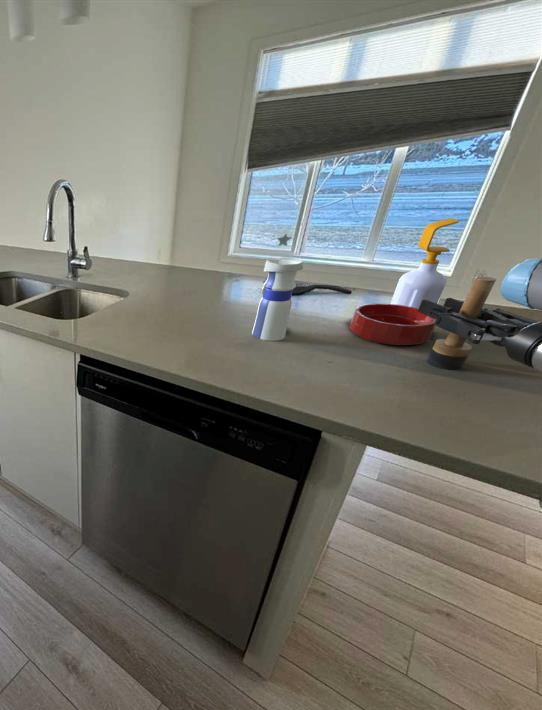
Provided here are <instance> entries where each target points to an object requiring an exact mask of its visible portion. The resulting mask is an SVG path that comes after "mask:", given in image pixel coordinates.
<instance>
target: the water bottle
mask: <svg viewBox="0 0 542 710" xmlns="http://www.w3.org/2000/svg"><path fill="white" fill-rule="evenodd" d="M292 238H293V237H292V236H288V235H287V232H285V233H284V234H283V236H281V237H276V240H278V242H279V243H278V244H277V247H280V246H285V247H288V241H289V240H291V239H292ZM303 269H304V264H303V260H302V259H299V258H295V257H291V256H289V257H288V256H282V257H279V259H278V263H274V262H271V261H270V260H269V259H266V261H265V264H264V268H263V273H266V272H268V275H267V277H266V278H267V280H266V279H265V281H266V282H265V283H264V284H263V283H262V284H263V286H262V288H261V294H262V297H261V298H260V300H259V303H258V307H257V312H256V315H255V321H254V324H253V328H252V331H251V335H252V336H253V337H254V338H257V339H259V340H262V341H271V342H276V341H277V342H278V341H281V340H284V339H285V338H286V335H287V327H288V323H289V319H290V318H289V317H290V313H291V309H292V292H293V289H294V288H295V287H296V281H295V279H296V275H297V273H298V272H299V271H301V270H303Z"/></svg>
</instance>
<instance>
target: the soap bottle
mask: <svg viewBox="0 0 542 710" xmlns="http://www.w3.org/2000/svg"><path fill="white" fill-rule="evenodd" d="M459 222H460V220H458V219H456V218H451V217H449V218H445V219H442V220H437V221H434V222H431V223H429V224H427V225H426V226H425V227H424V229H423V232H422V234H421V236H420V239H419V242H418V245H417V246H418V248H419V249H421V250H423V251H425V254H426V255H427V257H426V258H423V259H421V261H420V264H419V267H417V268H416V269H413V270H410V271H408V272H406V273H403V274H402V276H401V277H400V278H399V280H398V281H397V285H396V286H395V287H396V288H395V290H394V292H393V295H392V298H391V301H390V303H389V304H397V305H404V306H410V307H414V308H418V309H419V307H420V305H421V302H422V300H428V301H431V302H434V303H436V304H439V300H440V298H441V296H442V294H443V291H444V289H445V287H446V284H447V278H446V277H445V275H444V274H442V273H441V272H439V271H438V270H437V268H438V266H439V263H440V260H439V259H437V257H438V256H441V255H442V253H449V252H451V249H449V248H447V247H445V246H431V243H432V241H433V238H434V236H435V234H436V232H437V231H438V230H440V229H442V228H444V227H449V226H452V225H456V224H459Z"/></svg>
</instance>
